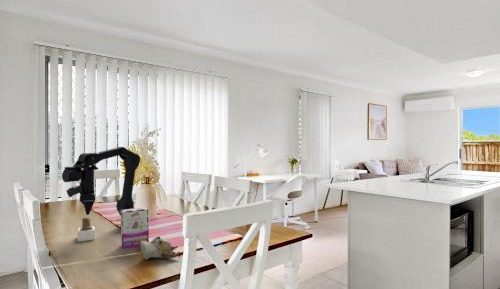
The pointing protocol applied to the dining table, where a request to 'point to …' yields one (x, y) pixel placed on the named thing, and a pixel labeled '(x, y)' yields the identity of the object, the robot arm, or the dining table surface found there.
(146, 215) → the candy bar box
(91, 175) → the robot arm
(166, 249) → the ceramic sculpture
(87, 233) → the white square frame
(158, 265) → the dining table surface
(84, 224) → the dowel
